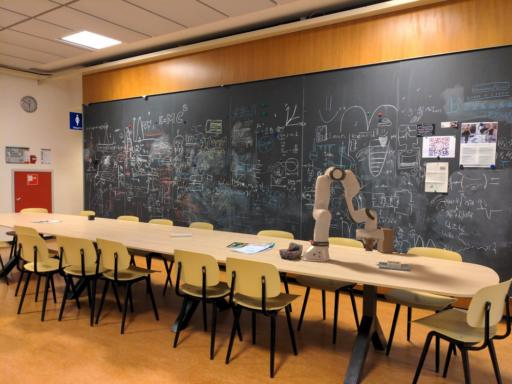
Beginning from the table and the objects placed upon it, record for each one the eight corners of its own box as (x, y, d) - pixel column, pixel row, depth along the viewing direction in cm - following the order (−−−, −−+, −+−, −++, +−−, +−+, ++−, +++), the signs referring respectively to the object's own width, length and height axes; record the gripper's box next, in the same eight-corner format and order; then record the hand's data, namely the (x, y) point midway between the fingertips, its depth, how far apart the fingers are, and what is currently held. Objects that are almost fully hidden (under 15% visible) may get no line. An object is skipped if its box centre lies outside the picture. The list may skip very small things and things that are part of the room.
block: (382, 253, 315) (383, 229, 314) (376, 251, 325) (377, 227, 324) (393, 253, 317) (394, 229, 316) (387, 250, 327) (388, 227, 326)
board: (378, 268, 264) (379, 263, 264) (379, 263, 279) (379, 259, 279) (409, 271, 258) (410, 266, 258) (408, 266, 273) (408, 261, 273)
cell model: (304, 242, 297) (292, 247, 281) (304, 256, 298) (291, 261, 282) (290, 240, 305) (277, 244, 288) (290, 253, 306) (277, 258, 289)
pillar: (365, 250, 278) (366, 238, 278) (365, 249, 283) (366, 237, 283) (372, 251, 277) (373, 239, 277) (372, 250, 282) (373, 238, 281)
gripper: (356, 225, 289) (354, 240, 280) (384, 228, 283) (383, 243, 274) (356, 230, 294) (354, 245, 285) (384, 233, 287) (383, 248, 278)
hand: (369, 244), depth 279 cm, fingers closed on pillar, 5 cm apart
